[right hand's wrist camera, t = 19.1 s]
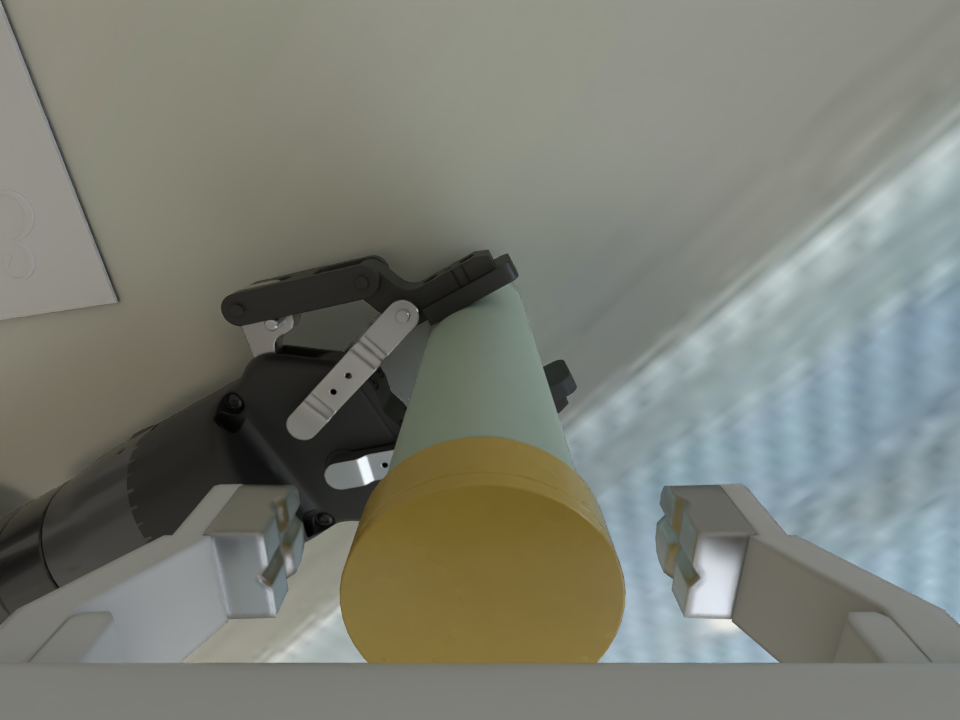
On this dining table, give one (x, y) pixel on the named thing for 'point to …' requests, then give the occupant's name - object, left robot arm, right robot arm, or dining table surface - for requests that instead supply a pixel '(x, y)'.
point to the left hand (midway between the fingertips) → (540, 321)
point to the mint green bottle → (482, 382)
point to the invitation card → (39, 207)
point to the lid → (482, 561)
